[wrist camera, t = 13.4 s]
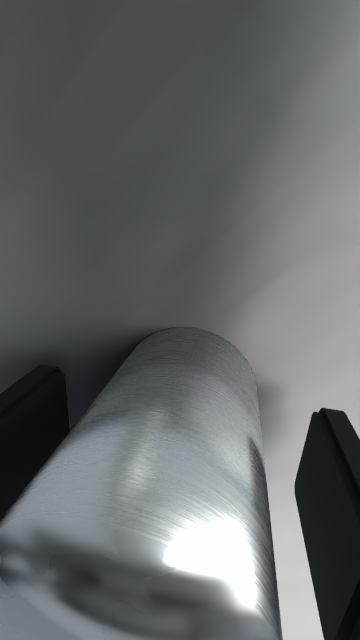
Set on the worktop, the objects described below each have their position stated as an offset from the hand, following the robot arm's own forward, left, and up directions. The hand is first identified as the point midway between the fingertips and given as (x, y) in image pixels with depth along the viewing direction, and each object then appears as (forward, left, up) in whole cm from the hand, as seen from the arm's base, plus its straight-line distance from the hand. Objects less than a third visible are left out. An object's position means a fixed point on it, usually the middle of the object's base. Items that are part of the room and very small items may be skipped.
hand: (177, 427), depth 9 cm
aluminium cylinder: (0, 0, -2) cm, 2 cm away
